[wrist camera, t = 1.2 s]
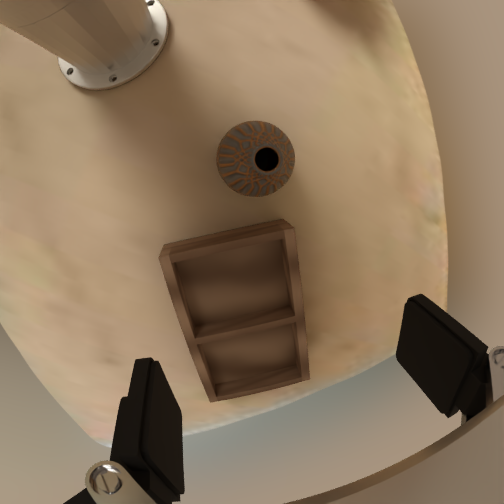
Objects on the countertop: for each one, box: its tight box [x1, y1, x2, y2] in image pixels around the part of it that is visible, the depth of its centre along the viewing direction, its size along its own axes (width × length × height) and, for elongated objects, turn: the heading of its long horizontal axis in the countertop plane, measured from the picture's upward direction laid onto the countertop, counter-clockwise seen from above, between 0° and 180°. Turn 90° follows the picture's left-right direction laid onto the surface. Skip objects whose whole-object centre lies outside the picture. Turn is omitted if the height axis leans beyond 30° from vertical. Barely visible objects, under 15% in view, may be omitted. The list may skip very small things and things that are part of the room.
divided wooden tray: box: [159, 219, 310, 402], centre depth 32 cm, size 20×13×4 cm, turn 10°
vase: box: [216, 121, 295, 197], centre depth 25 cm, size 7×7×9 cm
